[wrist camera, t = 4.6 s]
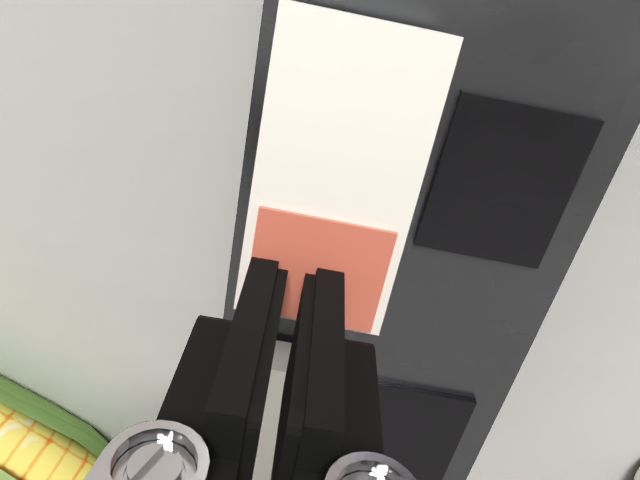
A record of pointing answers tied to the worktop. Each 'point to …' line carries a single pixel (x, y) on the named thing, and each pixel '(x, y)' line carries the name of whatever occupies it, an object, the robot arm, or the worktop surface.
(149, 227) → the worktop surface
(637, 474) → the drinking glass
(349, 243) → the plate
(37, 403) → the edible corn
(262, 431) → the block
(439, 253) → the rocker switch panel
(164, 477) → the robot arm
